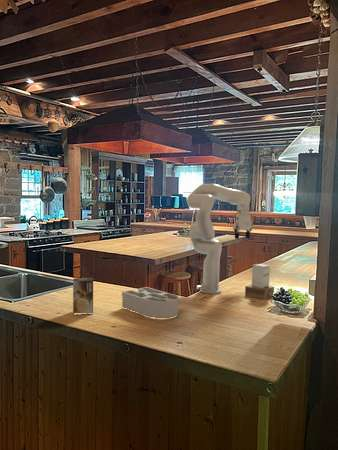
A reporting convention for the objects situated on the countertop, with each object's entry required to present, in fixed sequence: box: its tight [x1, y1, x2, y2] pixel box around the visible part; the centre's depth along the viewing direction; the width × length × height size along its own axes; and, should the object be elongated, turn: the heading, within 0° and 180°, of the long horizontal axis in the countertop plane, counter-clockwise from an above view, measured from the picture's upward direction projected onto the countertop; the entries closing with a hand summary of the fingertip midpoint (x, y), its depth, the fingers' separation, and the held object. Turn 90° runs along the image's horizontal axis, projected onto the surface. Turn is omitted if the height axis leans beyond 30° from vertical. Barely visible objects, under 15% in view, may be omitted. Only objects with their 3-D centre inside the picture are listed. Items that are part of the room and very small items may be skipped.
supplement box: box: [251, 263, 271, 288], centre depth 215 cm, size 7×7×13 cm
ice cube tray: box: [121, 286, 180, 318], centre depth 178 cm, size 17×28×9 cm, turn 45°
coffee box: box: [72, 277, 94, 314], centre depth 173 cm, size 9×6×16 cm
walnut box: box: [244, 283, 275, 301], centre depth 215 cm, size 12×12×6 cm
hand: (242, 238), depth 245 cm, fingers open, 9 cm apart
